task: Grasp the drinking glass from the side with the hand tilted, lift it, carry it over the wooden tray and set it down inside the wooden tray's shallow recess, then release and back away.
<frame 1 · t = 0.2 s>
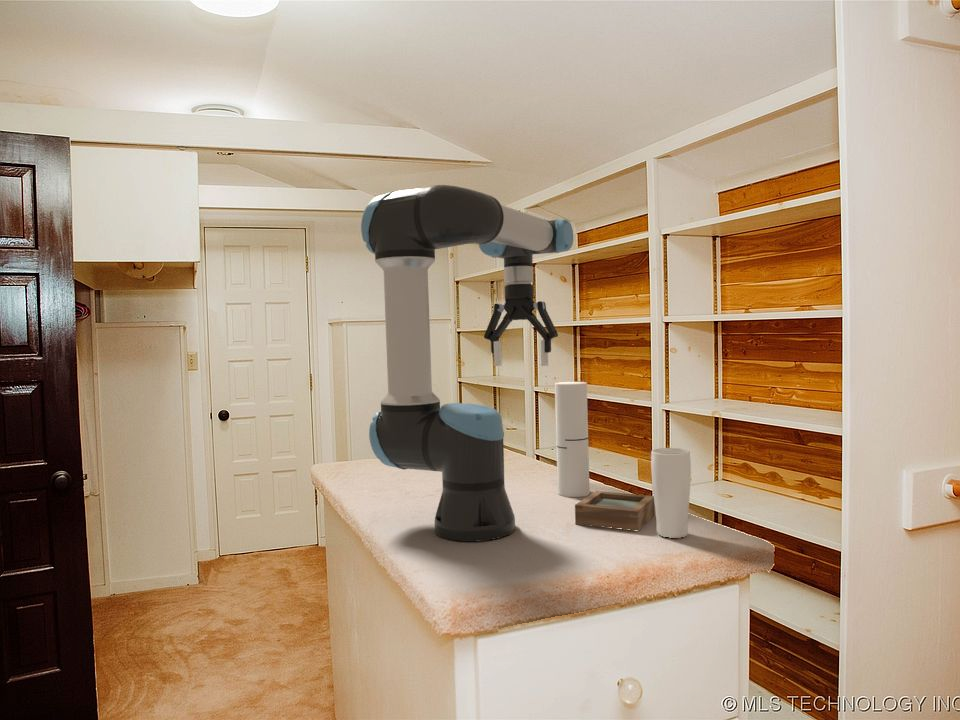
hand: (520, 365, 172), 28 cm above the table, tool pointing down, fingers open, 13 cm apart
wooden tray: (615, 519, 128), on the table
cylindrical container: (573, 493, 150), on the table
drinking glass: (672, 536, 117), on the table
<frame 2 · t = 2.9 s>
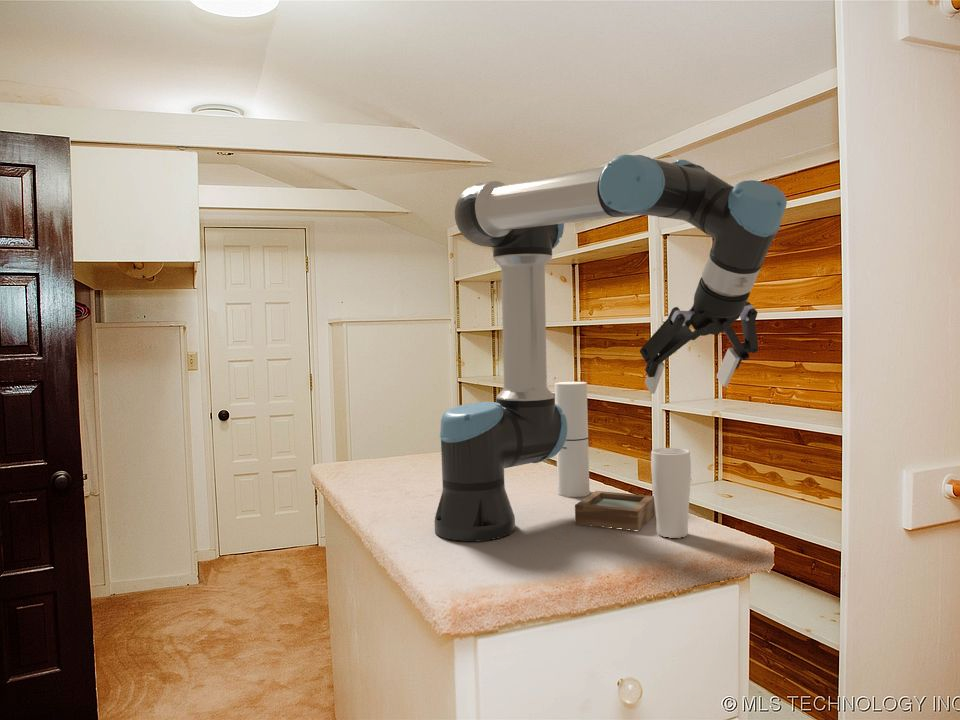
hand: (686, 384, 114), 27 cm above the table, tool tilted 40°, fingers open, 13 cm apart
nothing on the table moved.
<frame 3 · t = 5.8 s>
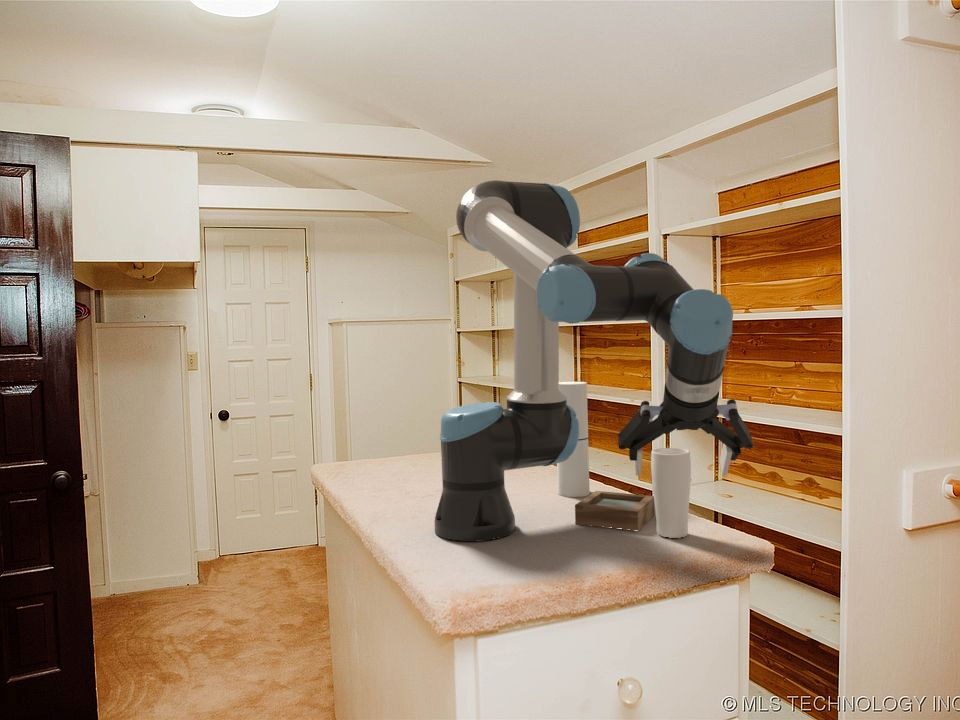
hand: (680, 468, 110), 13 cm above the table, tool tilted 45°, fingers open, 13 cm apart
nothing on the table moved.
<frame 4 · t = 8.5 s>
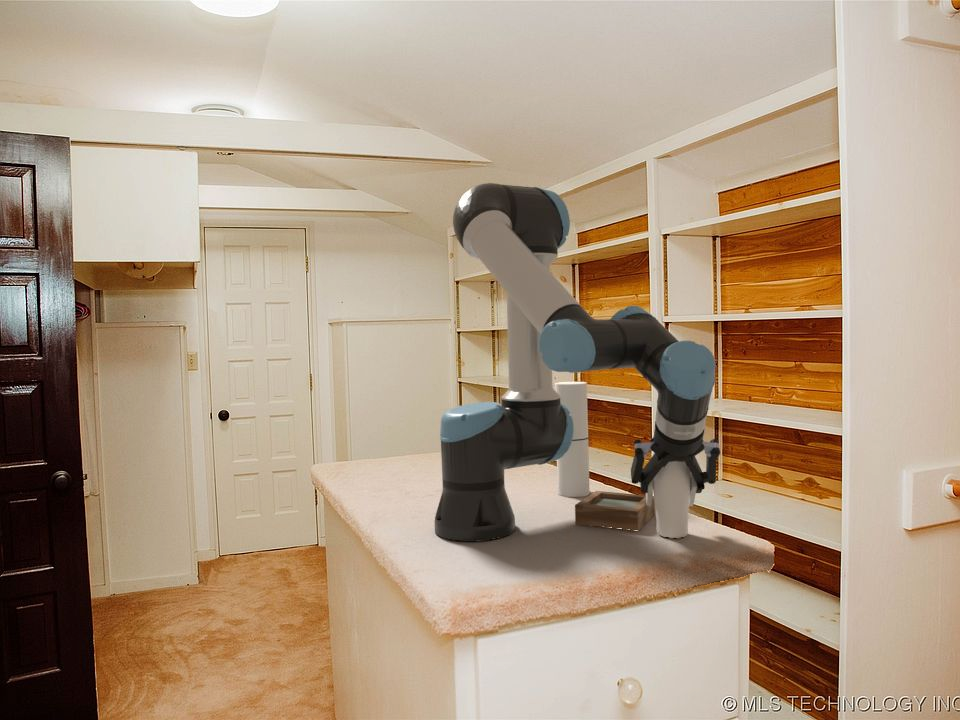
hand: (669, 499, 121), 5 cm above the table, tool tilted 45°, fingers closed on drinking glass, 7 cm apart
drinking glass: (672, 536, 117), on the table, touching gripper
everything else where it was.
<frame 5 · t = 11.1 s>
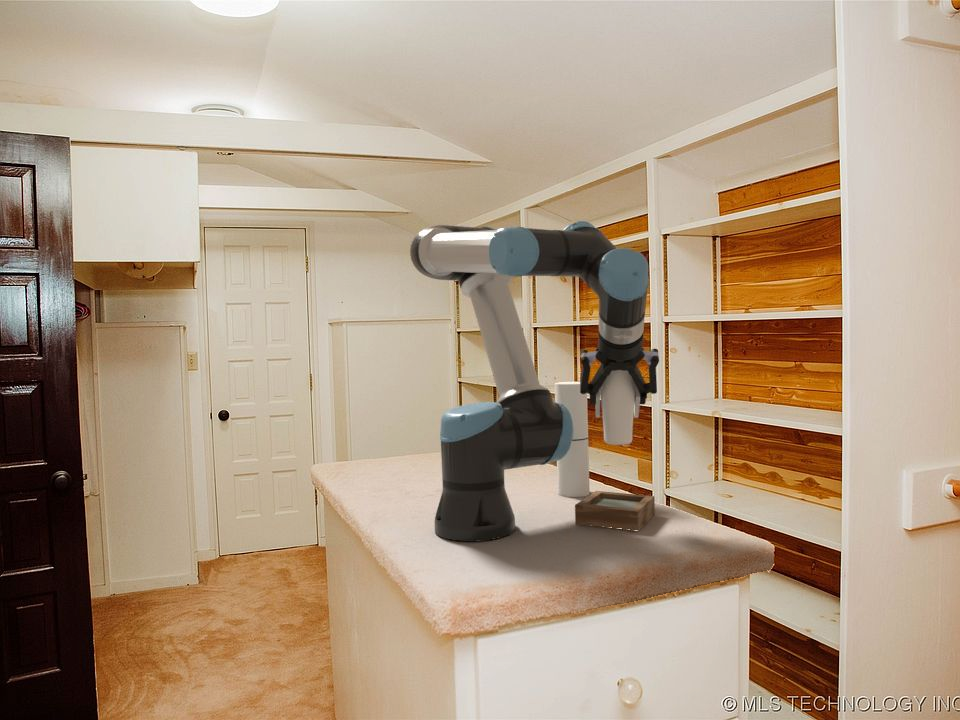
hand: (616, 412, 130), 21 cm above the table, tool tilted 45°, fingers closed on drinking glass, 7 cm apart
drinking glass: (618, 444, 126), point 15 cm above the table, touching gripper
everything else where it was.
when the fingers open (10 cm above the table, at t = 13.7 s): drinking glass drops 1 cm, resting on wooden tray.
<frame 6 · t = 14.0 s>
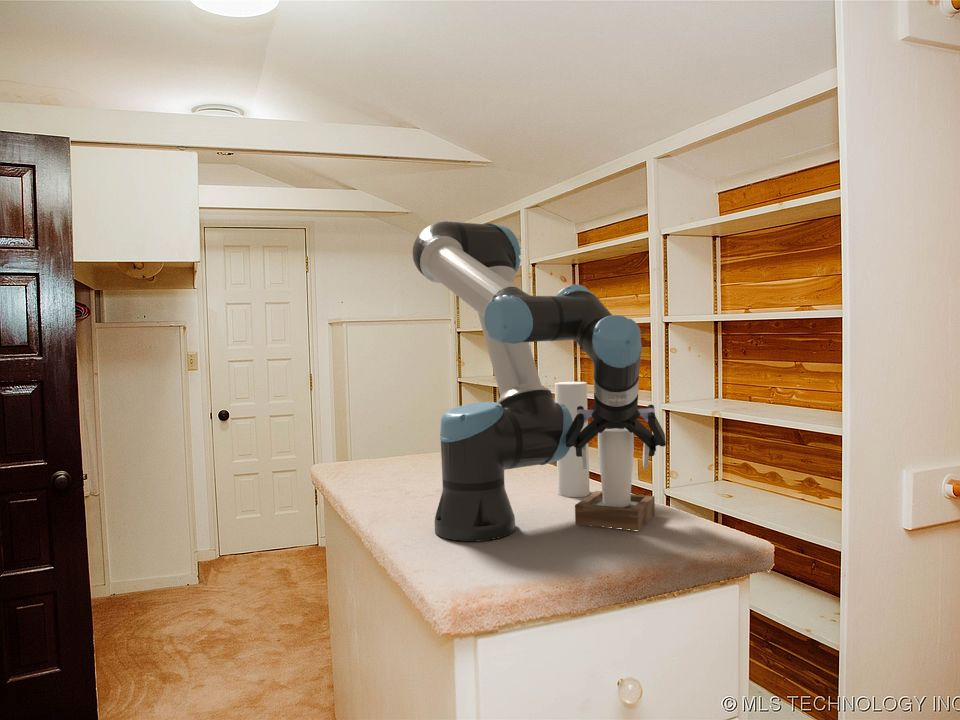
hand: (614, 463, 130), 10 cm above the table, tool tilted 45°, fingers open, 11 cm apart
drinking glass: (616, 506, 128), point 3 cm above the table, touching wooden tray
everything else where it was.
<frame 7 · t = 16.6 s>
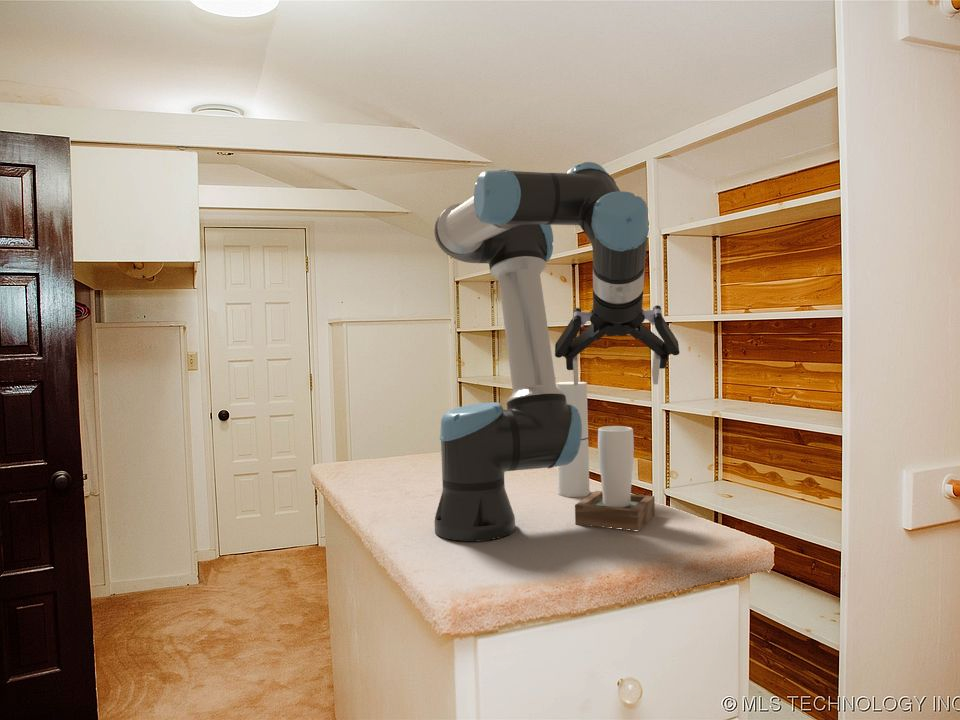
hand: (615, 379, 116), 28 cm above the table, tool tilted 45°, fingers open, 13 cm apart
nothing on the table moved.
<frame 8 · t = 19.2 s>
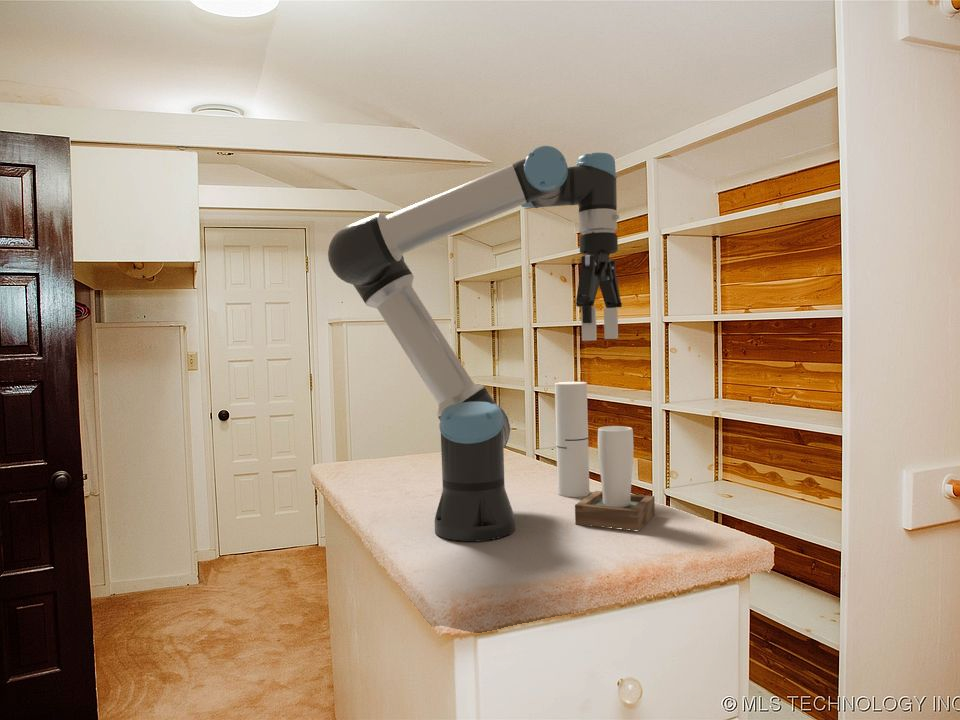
hand: (600, 339, 133), 35 cm above the table, tool pointing down, fingers open, 13 cm apart
nothing on the table moved.
at the end: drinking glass 0.2 cm off-centre on the wooden tray, point 2.5 cm above the wooden tray's base; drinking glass tilted 0°; the gripper is holding nothing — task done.
